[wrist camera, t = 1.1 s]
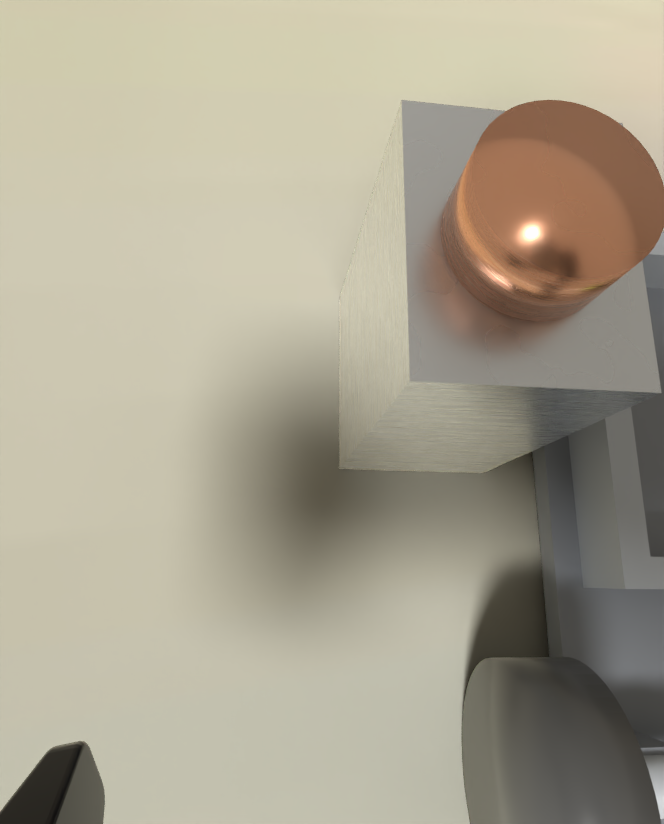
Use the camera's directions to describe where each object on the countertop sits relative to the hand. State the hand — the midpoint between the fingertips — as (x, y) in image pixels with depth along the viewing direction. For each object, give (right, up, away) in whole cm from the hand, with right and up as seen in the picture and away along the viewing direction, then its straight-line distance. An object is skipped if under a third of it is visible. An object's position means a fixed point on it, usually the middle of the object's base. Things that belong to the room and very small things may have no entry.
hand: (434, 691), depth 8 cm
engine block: (+2, +5, +16) cm, 16 cm away
